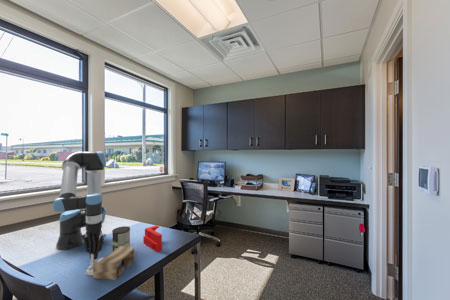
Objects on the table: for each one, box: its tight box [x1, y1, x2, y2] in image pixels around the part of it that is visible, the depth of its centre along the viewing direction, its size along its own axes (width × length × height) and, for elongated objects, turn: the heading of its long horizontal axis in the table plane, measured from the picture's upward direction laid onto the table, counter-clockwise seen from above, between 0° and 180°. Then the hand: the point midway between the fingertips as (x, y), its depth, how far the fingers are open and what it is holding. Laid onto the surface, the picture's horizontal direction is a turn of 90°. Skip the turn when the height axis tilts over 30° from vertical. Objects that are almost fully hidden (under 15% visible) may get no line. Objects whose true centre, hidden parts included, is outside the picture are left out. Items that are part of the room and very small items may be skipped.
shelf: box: [92, 246, 135, 281], centre depth 108 cm, size 12×17×8 cm
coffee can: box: [111, 225, 131, 253], centre depth 128 cm, size 10×10×14 cm
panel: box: [85, 257, 123, 277], centre depth 109 cm, size 12×12×4 cm
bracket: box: [142, 225, 163, 253], centre depth 136 cm, size 18×10×10 cm
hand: (93, 264), depth 110 cm, fingers closed
